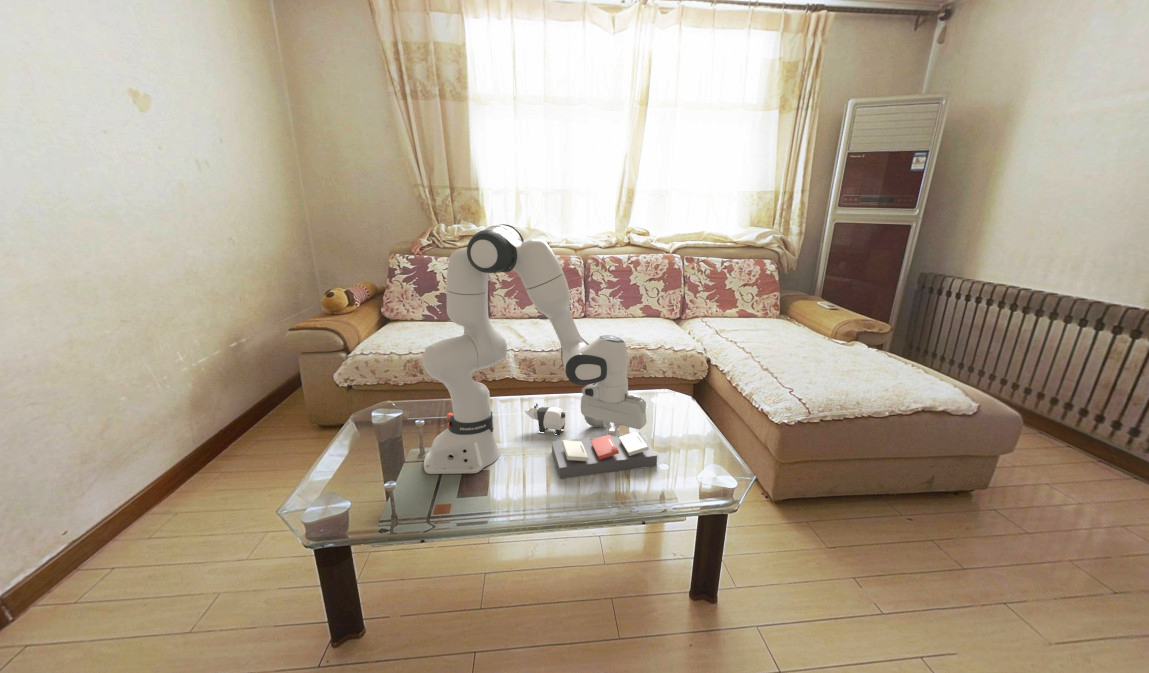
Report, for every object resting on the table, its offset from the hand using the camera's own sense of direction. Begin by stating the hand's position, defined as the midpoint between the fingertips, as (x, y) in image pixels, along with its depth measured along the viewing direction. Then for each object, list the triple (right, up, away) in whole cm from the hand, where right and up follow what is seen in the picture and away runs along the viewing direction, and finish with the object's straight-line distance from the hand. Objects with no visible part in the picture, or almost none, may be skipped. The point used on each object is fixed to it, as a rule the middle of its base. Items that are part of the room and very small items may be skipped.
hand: (612, 434), depth 124 cm
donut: (-3, -3, +25) cm, 25 cm away
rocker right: (+6, -3, +3) cm, 8 cm away
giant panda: (-21, -4, +23) cm, 31 cm away
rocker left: (-11, -4, -1) cm, 12 cm away
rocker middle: (-2, -4, +1) cm, 5 cm away
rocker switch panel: (-3, -8, +4) cm, 10 cm away
